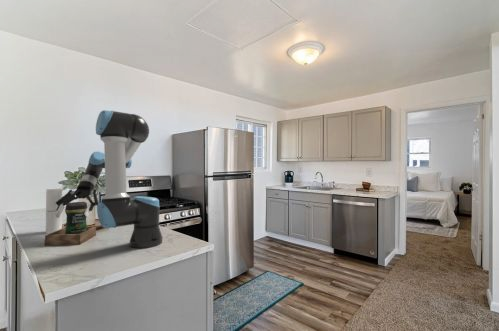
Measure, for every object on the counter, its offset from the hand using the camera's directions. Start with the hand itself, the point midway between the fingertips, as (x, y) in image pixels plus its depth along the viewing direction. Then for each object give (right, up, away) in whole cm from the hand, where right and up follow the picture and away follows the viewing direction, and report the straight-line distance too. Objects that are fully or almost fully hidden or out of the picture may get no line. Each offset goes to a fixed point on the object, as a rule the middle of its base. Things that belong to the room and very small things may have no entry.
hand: (71, 216), depth 124 cm
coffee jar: (+2, -12, +1) cm, 12 cm away
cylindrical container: (-21, -13, +15) cm, 29 cm away
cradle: (0, -13, +1) cm, 13 cm away
